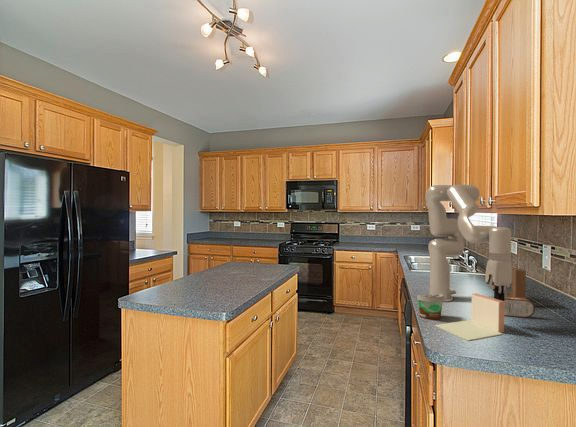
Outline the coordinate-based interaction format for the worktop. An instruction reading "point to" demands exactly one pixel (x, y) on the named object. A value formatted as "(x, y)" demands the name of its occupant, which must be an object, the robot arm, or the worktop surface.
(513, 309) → the tin
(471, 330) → the mat
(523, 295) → the wooden block
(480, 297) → the tile
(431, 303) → the food container
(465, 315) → the worktop surface
